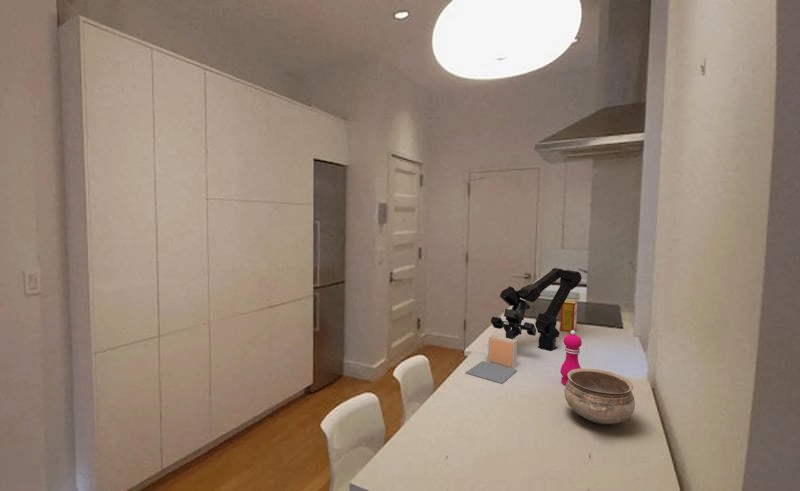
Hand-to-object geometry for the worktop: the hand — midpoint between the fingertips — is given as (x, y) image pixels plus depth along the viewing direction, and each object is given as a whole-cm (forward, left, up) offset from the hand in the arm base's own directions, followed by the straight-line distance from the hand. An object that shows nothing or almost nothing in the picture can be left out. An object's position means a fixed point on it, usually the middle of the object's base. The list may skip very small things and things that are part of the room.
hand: (507, 342), depth 162 cm
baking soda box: (+2, -63, -8) cm, 64 cm away
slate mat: (-3, +15, -8) cm, 17 cm away
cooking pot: (-44, +20, -8) cm, 49 cm away
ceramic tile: (-1, +5, -8) cm, 9 cm away
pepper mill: (-28, +2, -8) cm, 29 cm away
